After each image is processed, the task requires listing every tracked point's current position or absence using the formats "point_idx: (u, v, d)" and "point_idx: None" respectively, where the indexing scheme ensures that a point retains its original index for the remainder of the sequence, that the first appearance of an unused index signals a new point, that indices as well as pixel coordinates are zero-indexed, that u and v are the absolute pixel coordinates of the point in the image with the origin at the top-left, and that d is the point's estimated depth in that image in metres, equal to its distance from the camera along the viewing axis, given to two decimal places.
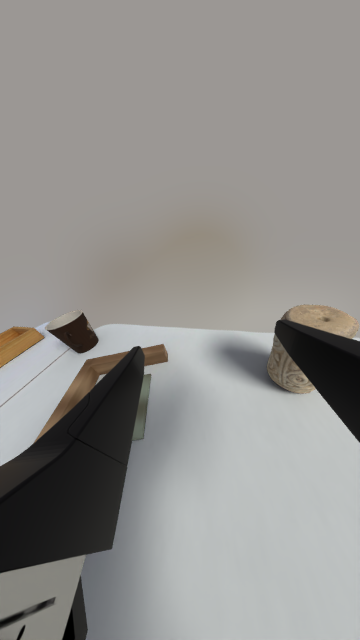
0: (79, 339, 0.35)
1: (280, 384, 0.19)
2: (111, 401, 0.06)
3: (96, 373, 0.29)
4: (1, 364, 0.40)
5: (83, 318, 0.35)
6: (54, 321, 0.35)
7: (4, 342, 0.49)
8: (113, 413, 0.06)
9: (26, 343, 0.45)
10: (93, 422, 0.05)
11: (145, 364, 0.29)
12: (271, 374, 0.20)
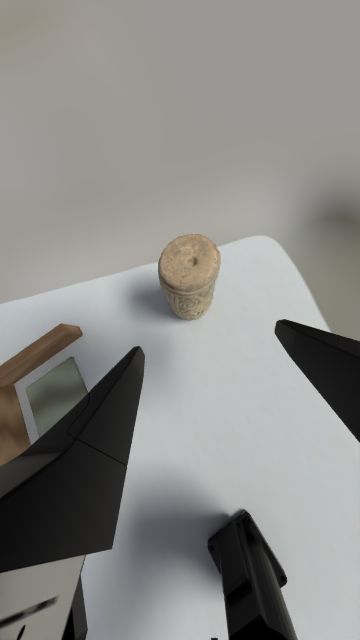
0: None
1: (183, 318, 0.21)
2: (111, 401, 0.06)
3: (6, 386, 0.24)
4: None
5: None
6: None
7: None
8: (113, 413, 0.06)
9: None
10: (93, 422, 0.05)
11: (59, 349, 0.24)
12: (175, 312, 0.21)
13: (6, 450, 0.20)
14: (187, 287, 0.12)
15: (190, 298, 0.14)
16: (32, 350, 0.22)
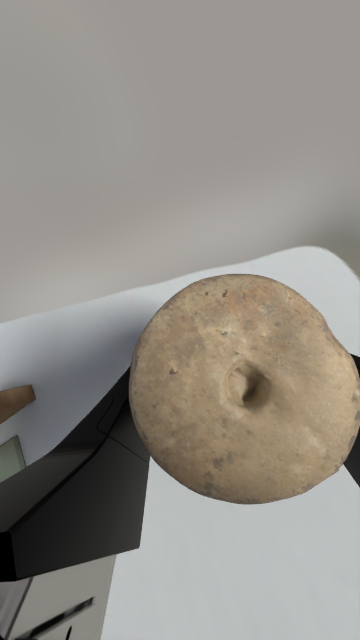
0: None
1: None
2: None
3: None
4: None
5: None
6: None
7: None
8: None
9: None
10: (121, 418, 0.05)
11: None
12: None
13: None
14: (233, 501, 0.03)
15: None
16: None
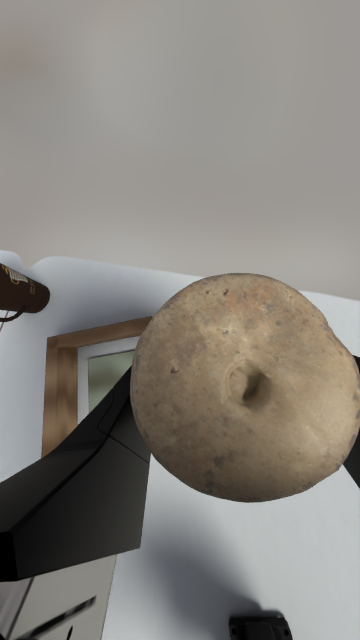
0: (14, 302, 0.22)
1: None
2: None
3: (72, 349, 0.23)
4: None
5: None
6: None
7: None
8: None
9: None
10: (121, 418, 0.05)
11: (131, 336, 0.23)
12: None
13: (61, 416, 0.19)
14: (234, 500, 0.03)
15: None
16: (114, 331, 0.20)
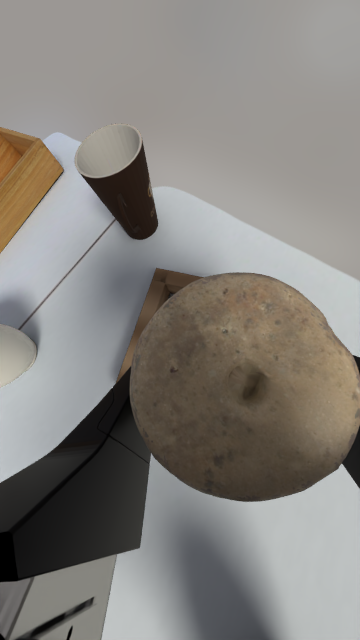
0: (136, 216, 0.20)
1: None
2: None
3: (168, 292, 0.21)
4: (30, 207, 0.29)
5: (144, 162, 0.16)
6: (85, 147, 0.17)
7: (3, 163, 0.31)
8: None
9: (44, 175, 0.29)
10: (121, 418, 0.05)
11: None
12: None
13: None
14: (233, 499, 0.03)
15: None
16: None
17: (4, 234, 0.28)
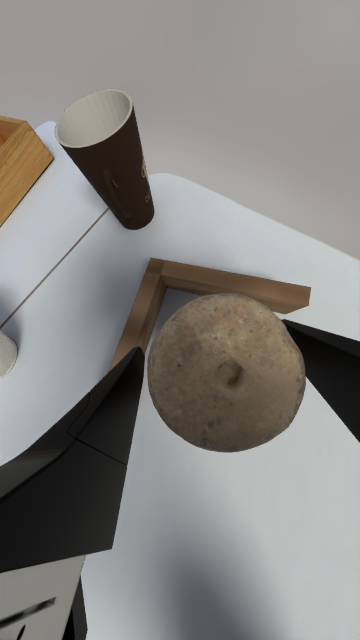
0: (128, 199, 0.17)
1: None
2: (111, 401, 0.06)
3: (164, 286, 0.18)
4: (18, 196, 0.27)
5: (136, 132, 0.14)
6: (68, 117, 0.14)
7: None
8: (113, 413, 0.06)
9: (32, 162, 0.27)
10: (93, 422, 0.05)
11: None
12: None
13: None
14: (221, 450, 0.04)
15: None
16: (245, 284, 0.14)
17: None
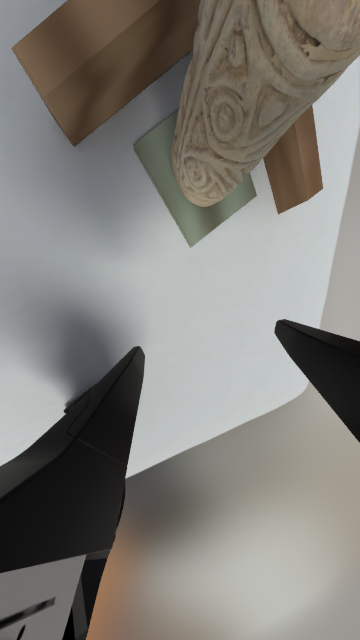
0: None
1: (177, 179, 0.12)
2: (111, 401, 0.06)
3: None
4: None
5: None
6: None
7: None
8: (113, 413, 0.06)
9: None
10: (93, 422, 0.05)
11: (270, 168, 0.15)
12: None
13: (128, 49, 0.09)
14: None
15: (247, 78, 0.05)
16: (302, 119, 0.12)
17: None
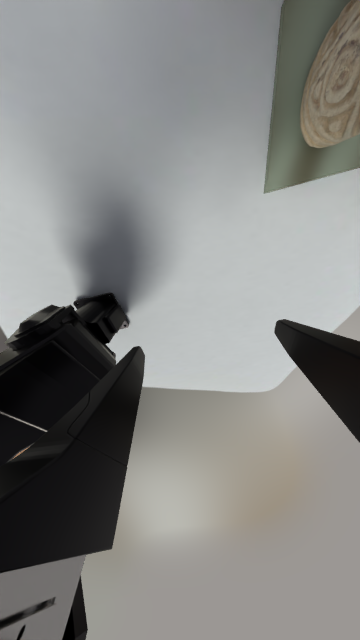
0: None
1: (308, 84, 0.10)
2: (111, 401, 0.06)
3: None
4: None
5: None
6: None
7: None
8: (113, 413, 0.06)
9: None
10: (93, 422, 0.05)
11: None
12: (328, 37, 0.09)
13: None
14: None
15: None
16: None
17: None
